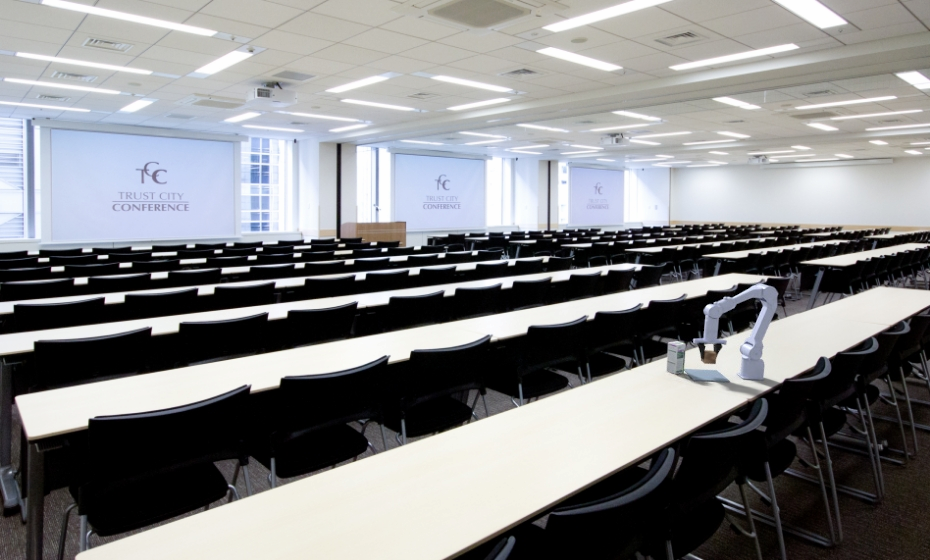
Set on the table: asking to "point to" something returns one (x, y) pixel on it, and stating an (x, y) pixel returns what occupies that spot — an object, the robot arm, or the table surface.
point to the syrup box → (676, 357)
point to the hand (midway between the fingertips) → (708, 358)
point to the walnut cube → (709, 357)
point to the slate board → (706, 375)
